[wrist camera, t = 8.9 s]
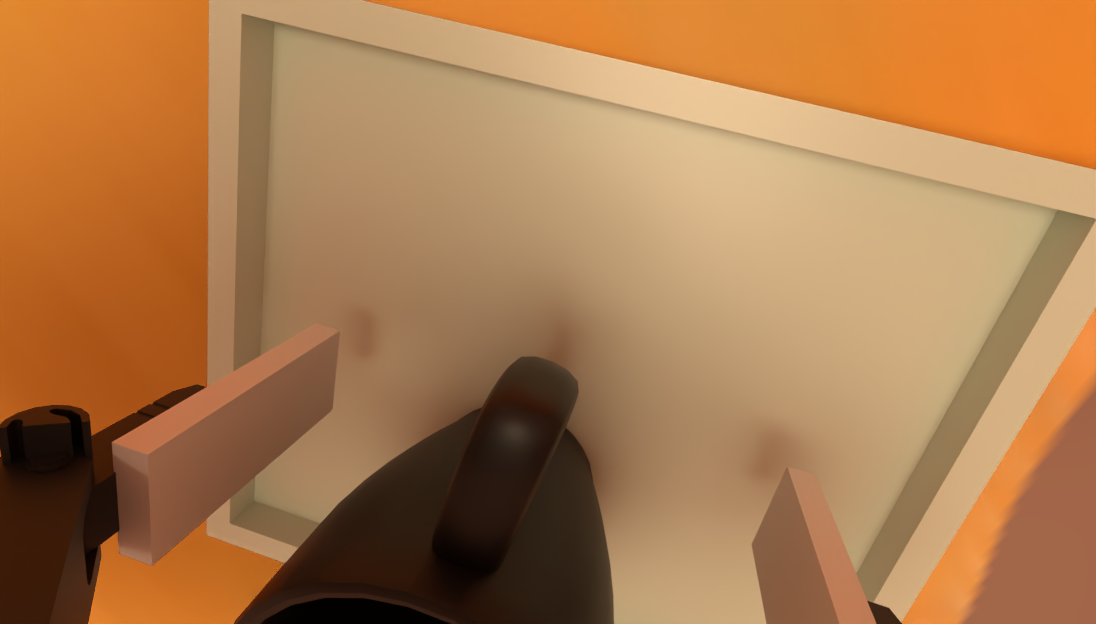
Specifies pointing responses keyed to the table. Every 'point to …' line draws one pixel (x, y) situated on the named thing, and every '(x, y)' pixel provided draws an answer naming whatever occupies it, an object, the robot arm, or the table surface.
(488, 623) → the mug
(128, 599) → the table surface
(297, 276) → the tray
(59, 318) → the table surface
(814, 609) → the robot arm
